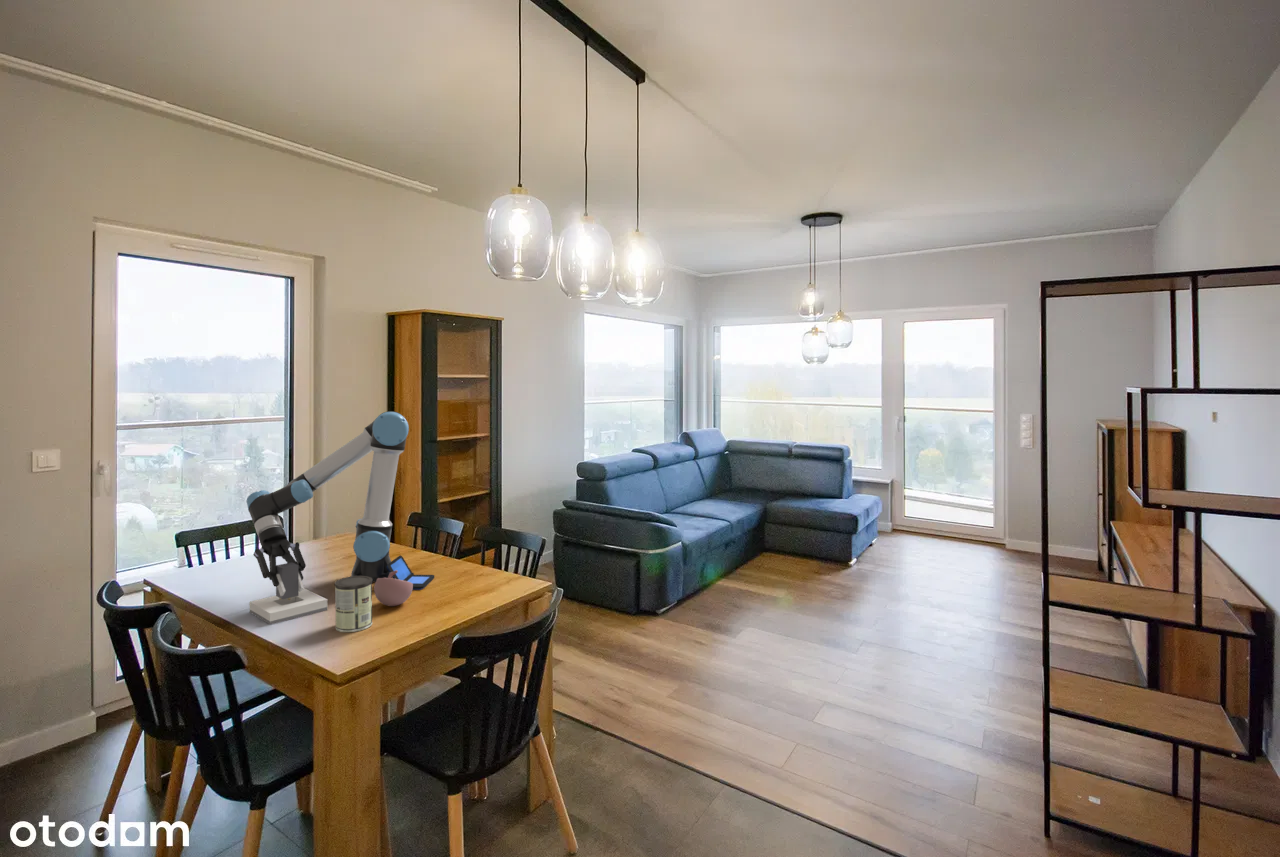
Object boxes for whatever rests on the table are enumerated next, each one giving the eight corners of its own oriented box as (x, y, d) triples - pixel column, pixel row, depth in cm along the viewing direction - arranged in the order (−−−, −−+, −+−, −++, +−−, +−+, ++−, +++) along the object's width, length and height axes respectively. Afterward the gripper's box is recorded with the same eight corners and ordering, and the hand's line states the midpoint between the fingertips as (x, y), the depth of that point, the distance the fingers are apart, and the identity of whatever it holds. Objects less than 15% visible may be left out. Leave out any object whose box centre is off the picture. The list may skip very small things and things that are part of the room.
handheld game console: (422, 590, 218) (423, 565, 218) (385, 590, 218) (385, 565, 217) (435, 577, 234) (435, 554, 234) (400, 577, 233) (400, 554, 233)
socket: (305, 598, 206) (305, 588, 206) (327, 609, 197) (327, 599, 196) (249, 612, 193) (249, 601, 193) (270, 624, 183) (270, 613, 183)
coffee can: (344, 619, 189) (344, 575, 188) (377, 620, 189) (377, 575, 188) (328, 632, 178) (328, 585, 178) (363, 632, 179) (363, 586, 178)
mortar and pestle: (419, 600, 208) (419, 567, 207) (401, 612, 196) (402, 577, 195) (386, 598, 209) (386, 565, 208) (367, 610, 197) (366, 575, 197)
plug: (291, 595, 198) (291, 562, 197) (298, 598, 195) (298, 565, 194) (276, 599, 194) (276, 565, 193) (282, 602, 191) (282, 568, 191)
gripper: (295, 534, 210) (317, 591, 201) (237, 543, 196) (258, 604, 187) (302, 521, 207) (325, 578, 197) (243, 529, 192) (264, 591, 183)
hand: (292, 591), depth 192 cm, fingers closed on plug, 5 cm apart
